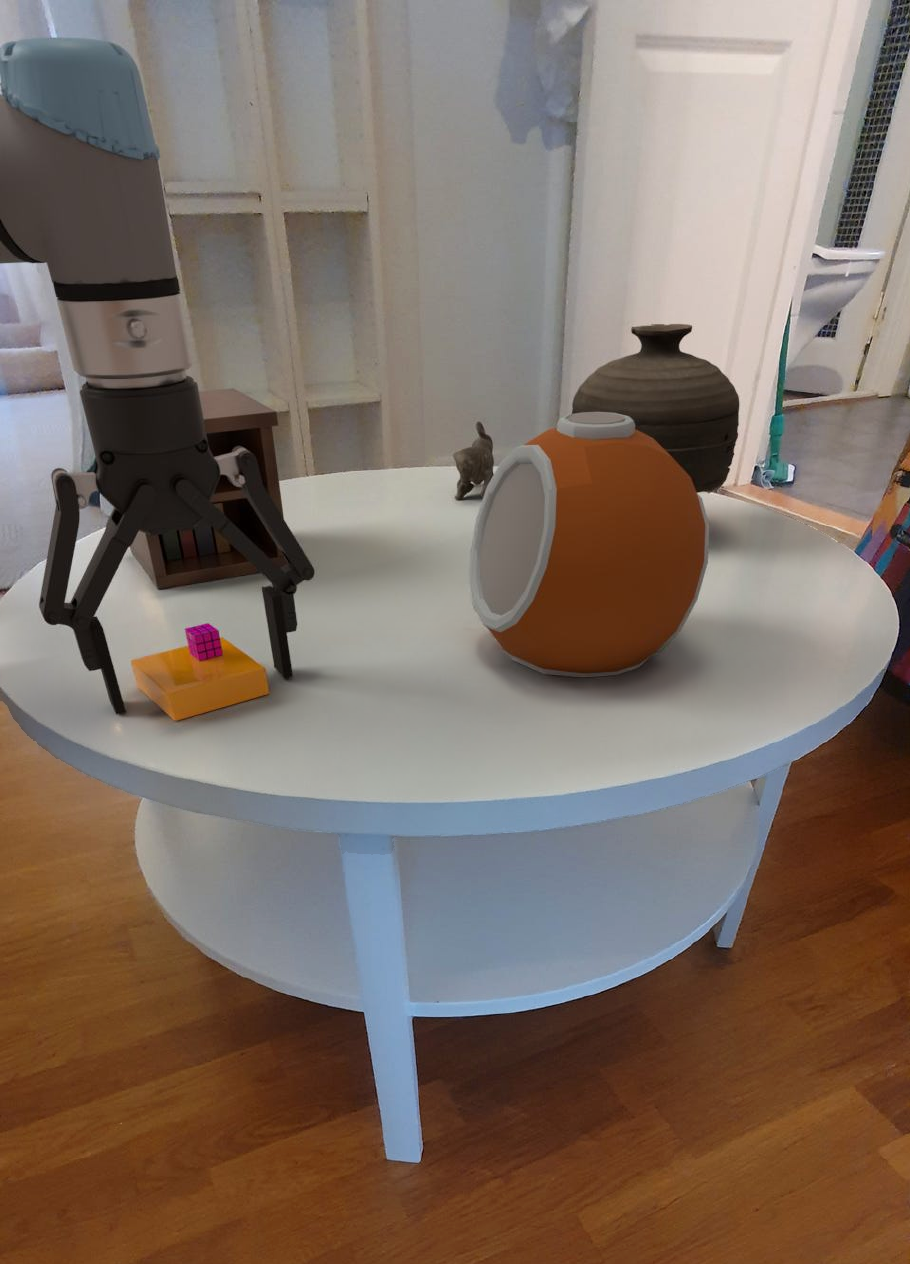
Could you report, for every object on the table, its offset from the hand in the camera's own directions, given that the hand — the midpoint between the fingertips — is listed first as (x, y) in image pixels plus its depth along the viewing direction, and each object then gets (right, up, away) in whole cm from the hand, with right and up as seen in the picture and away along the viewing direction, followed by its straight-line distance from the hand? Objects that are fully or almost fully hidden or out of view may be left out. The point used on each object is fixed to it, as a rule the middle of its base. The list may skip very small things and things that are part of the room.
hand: (203, 689), depth 73 cm
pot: (+41, +27, +30) cm, 58 cm away
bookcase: (-7, +22, +26) cm, 34 cm away
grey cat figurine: (+23, +38, +44) cm, 62 cm away
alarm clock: (+31, +5, +6) cm, 32 cm away
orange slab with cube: (0, 0, 0) cm, 0 cm away
